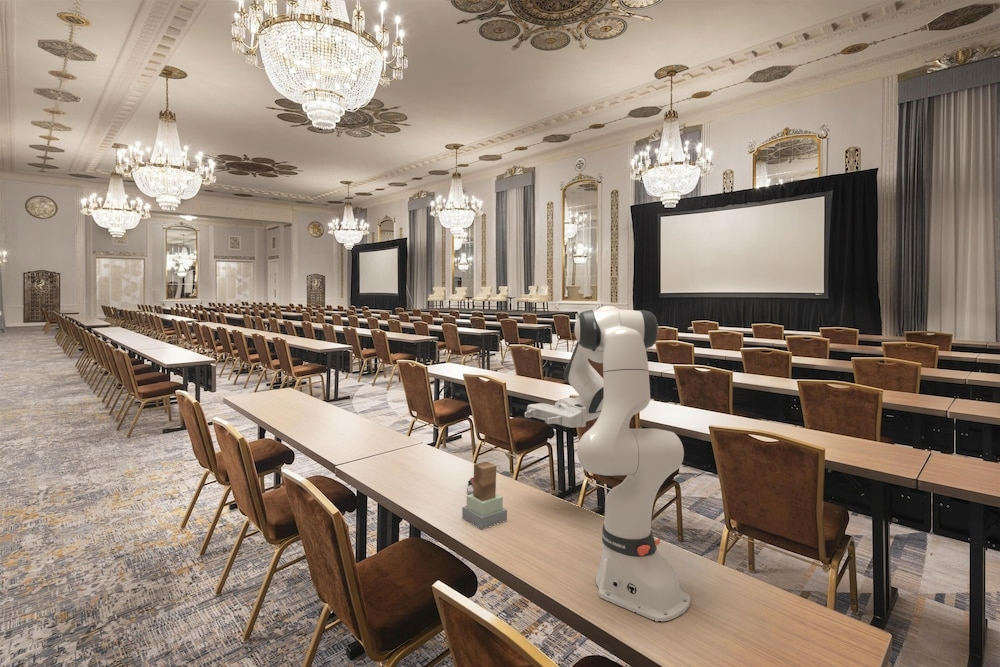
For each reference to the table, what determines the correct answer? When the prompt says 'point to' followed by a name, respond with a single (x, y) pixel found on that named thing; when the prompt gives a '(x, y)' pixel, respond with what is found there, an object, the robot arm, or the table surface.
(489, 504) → the tower top block
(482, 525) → the tower base block
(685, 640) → the table surface
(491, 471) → the walnut pillar
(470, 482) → the walkie-talkie
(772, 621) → the table surface
